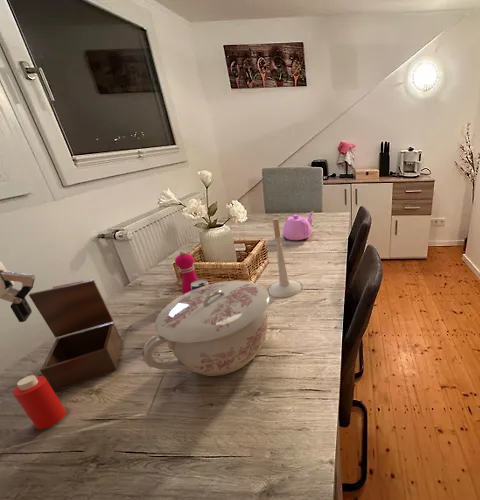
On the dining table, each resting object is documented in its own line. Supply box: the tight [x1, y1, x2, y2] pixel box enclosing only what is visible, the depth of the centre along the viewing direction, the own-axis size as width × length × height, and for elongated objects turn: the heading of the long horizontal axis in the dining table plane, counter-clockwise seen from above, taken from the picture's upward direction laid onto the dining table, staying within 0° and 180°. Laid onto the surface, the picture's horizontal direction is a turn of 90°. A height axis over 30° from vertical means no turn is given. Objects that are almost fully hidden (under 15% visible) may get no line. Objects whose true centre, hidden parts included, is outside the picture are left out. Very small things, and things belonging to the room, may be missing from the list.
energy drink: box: [191, 278, 210, 290], centre depth 98 cm, size 5×5×12 cm
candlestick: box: [268, 217, 302, 299], centre depth 107 cm, size 13×13×30 cm
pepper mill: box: [174, 249, 200, 295], centre depth 105 cm, size 7×7×20 cm
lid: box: [28, 279, 114, 339], centre depth 78 cm, size 14×13×5 cm
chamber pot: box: [141, 279, 271, 377], centre depth 76 cm, size 28×28×21 cm
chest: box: [39, 321, 122, 392], centre depth 76 cm, size 14×13×8 cm
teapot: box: [282, 210, 315, 241], centre depth 167 cm, size 22×22×14 cm
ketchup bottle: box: [12, 374, 67, 430], centre depth 60 cm, size 5×5×12 cm
